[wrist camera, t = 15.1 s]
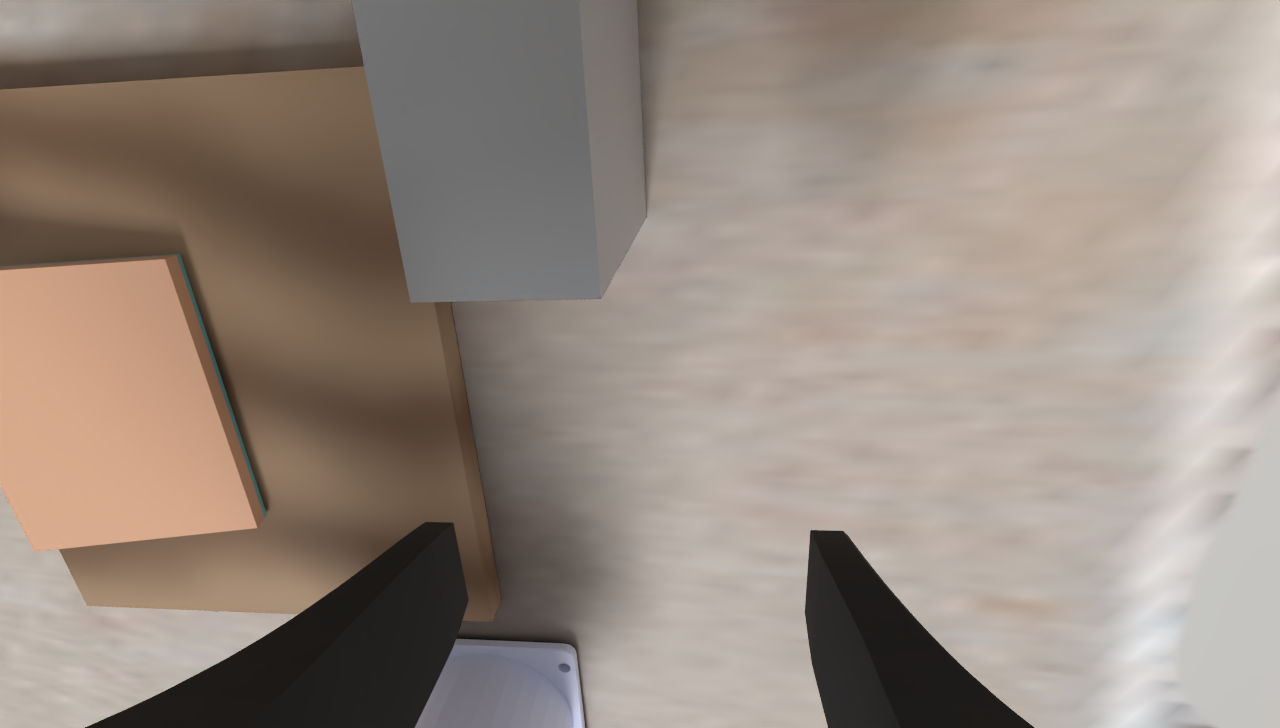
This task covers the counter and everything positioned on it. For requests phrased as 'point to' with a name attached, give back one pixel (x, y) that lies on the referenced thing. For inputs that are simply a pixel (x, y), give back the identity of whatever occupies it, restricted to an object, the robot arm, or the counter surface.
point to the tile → (115, 407)
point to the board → (264, 321)
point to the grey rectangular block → (508, 142)
